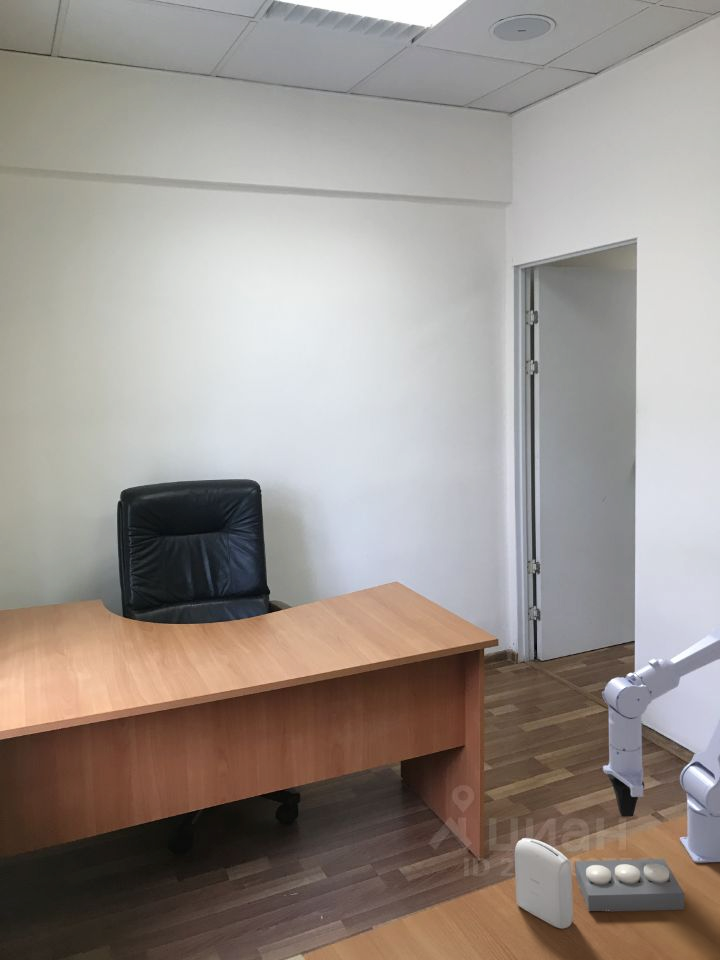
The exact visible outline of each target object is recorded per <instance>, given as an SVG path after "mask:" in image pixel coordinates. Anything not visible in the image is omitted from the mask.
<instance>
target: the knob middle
mask: <svg viewBox="0 0 720 960" xmlns="http://www.w3.org/2000/svg"><path fill="white" fill-rule="evenodd" d="M615 877H616V879H617V880H619V881H620V883H627V884H634V883H637V882H639V880H640V871H639V869H638V868H636V867H634V866H632V865H628V864H621V865H618V866H616V868H615Z"/></svg>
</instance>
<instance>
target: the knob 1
mask: <svg viewBox="0 0 720 960" xmlns="http://www.w3.org/2000/svg"><path fill="white" fill-rule="evenodd" d="M586 878H587V879H588V880H589V881H590V882H591V884H599V885H603V884H607V883H609V882H610V881H611V871H610V870H609V869H608V868H606V867H604V866H601V865H592V866H589V867H588V868H587V869H586Z"/></svg>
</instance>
